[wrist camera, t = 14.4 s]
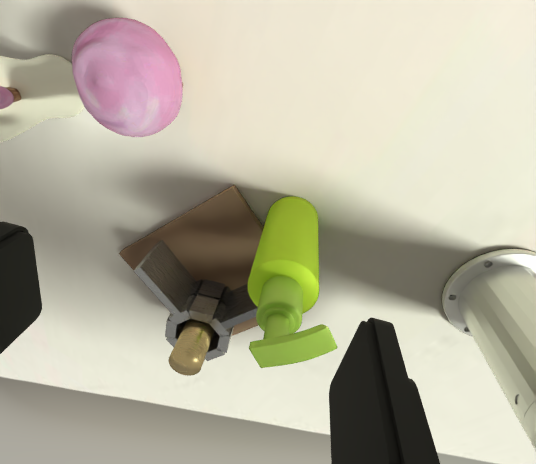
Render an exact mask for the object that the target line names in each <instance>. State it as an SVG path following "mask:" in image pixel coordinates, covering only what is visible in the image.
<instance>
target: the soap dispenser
mask: <svg viewBox="0 0 536 464" xmlns="http://www.w3.org/2000/svg"><path fill="white" fill-rule="evenodd" d="M248 293H249V296H250V298H251V300H252V301H253V302H254V304H255V305H256V306H257V307H258V308H257V313H256V320H257V323H258V325H259V326H260V328H261V329H262V330H264V331H265V333H264V338H263V340H258V341H253V342H250V346H249V349H250V351H251V353H252V354H253V356H254V358H255V359H256V361H257V363H258V364H259V366H260V367H261V368H264V367H273V366H280V365H287V364H293V363H298V362H302V361H306V360H309V359H312V358H315V357H318V356H321V355H323V354H326V353H328V352H330V351H333V350H335V349H337V345H336V343H335V341H334V338H333V336H332V334H331V332H330V330H329V328H328V327H327V326H325V325H322V324H321V325H318V326H315V327H313V328H310V329H307V330H304V331H301V332H298V333H295V332H296V331H297V330H298V329H299V328H300V326H301V323H302V314H303V313H305V312H307V311H308V310H309V309H311V308H312V307H313V305H314V304H315V303H316V301H317V299H318V295H319V241H318V215H317V212H316V210H315V208H314V207H313V205H312V204H311V203H309V202H308V201H307V200H305V199H303V198H300V197H293V196H291V197H285V198H282V199H280V200H278V201H276V202H275V203H274V204H273V205H272V206H271V208H270V209H269V212H268V215H267V218H266V222H265V225H264V228H263V232H262V235H261V239H260V242H259V245H258V249H257V252H256V255H255V259H254V262H253V266H252V269H251V272H250V276H249V279H248ZM293 333H294V334H293Z"/></svg>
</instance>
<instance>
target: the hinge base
mask: <svg viewBox="0 0 536 464" xmlns="http://www.w3.org/2000/svg"><path fill="white" fill-rule="evenodd" d="M263 228H264V227H263V226H262V225H261V223H260V222H259V220H258V219H257V217H256V216H255V214H254V213H253V211H252V210H251V208H250V207H249V205H248V204H247V203H246V201H245V200H244V198H243V197H242V195H241V194H240V192H239V191H238V189H237V188H236V186H235V185H233V186H231V187H230V188H228V189H226V190H224V191H223V192H221V193H219V194H218V195H216V196H214V197H212V198H211V199H209V200H207V201H205V202H204V203H202V204H200V205H199V206H197V207H195V208H193V209H192V210H190V211H188V212H187V213H185V214H183V215H181V216H180V217H178V218H176V219H175V220H173V221H171V222H169V223H168V224H166V225H164V226H163V227H161V228H159V229H157V230H156V231H154V232H152V233H150V234H149V235H147V236H145V237H144V238H142V239H140V240H138V241H137V242H135V243H133V244H132V245H130V246H128V247H126V248H125V249H123V250H122V251H121V252H120V253H119V254H120V255H121V257H122V258H123V259H124V260H125V261H126V262H127V263H128V264H129V265H130V267H131V268H132V269H133V270H135V268H136V267H137V266H138V265H139V264H140V262H141V261H142V260H143V259H144V257H145V256H146V255H147V254H148V253H149V251H150V250H151V249H152V248H153V247H154V245H155V244H156V243H157V242H159V241H161V240H163V241H164V243H165V244H166V245H167V246H168V247H169V249H170V250H171V251H172V252H173V253H174V255H175V256H176V257H177V258H178V260H179V261H180V262H181V263H182V264H183V266H184V267H185V268H186V269H187V270H188V272H189V273H190V274H191V275H192V276H193V278H194V279H195V280H196V281H199V280H201V279H202V280H203V281H204V280H205V279H207V280H211V281H215V282H219V283H223V284H225V287H227V286H228V287H229V288H230V289H231V290H234V289H236V288H239V287H241V286H243V285H245V284H248V279H249V276H250V272H251V269H252V266H253V262H254V259H255V255H256V252H257V249H258V245H259V242H260V239H261V235H262V232H263ZM255 326H258V323H257V320H256V317H254V318H252V319H249V320H247V321H244V322H242V323H240V324H237V325H235V326H234V329H233V332H232V335H235V334H238V333H240V332H243V331H245V330H248V329H250V328H253V327H255Z"/></svg>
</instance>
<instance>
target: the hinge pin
mask: <svg viewBox="0 0 536 464" xmlns="http://www.w3.org/2000/svg"><path fill="white" fill-rule="evenodd" d="M214 331H215V330H214V329H213V327H212V326H211V325H210V324H209V323H206V322H202V321H198V320H194V319H189V320H187V322H186V324H185V326H184V328H183V330H182V332H181V334H180V336H179V338H178V340H177V342H176V344H175V347H174V349H173V351H172V353H171V355H170V357H169V364H170V366H171V368H172V369H173V370H175V371H176V372H178V373H180V374H183V375H195V374H197V373H198V372H199V371H200V370H201V367H202V364H203V361H204V359H205V356H206V353H207V351H208V348H209V345H210V342H211V340H212V337H213V334H214Z"/></svg>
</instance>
